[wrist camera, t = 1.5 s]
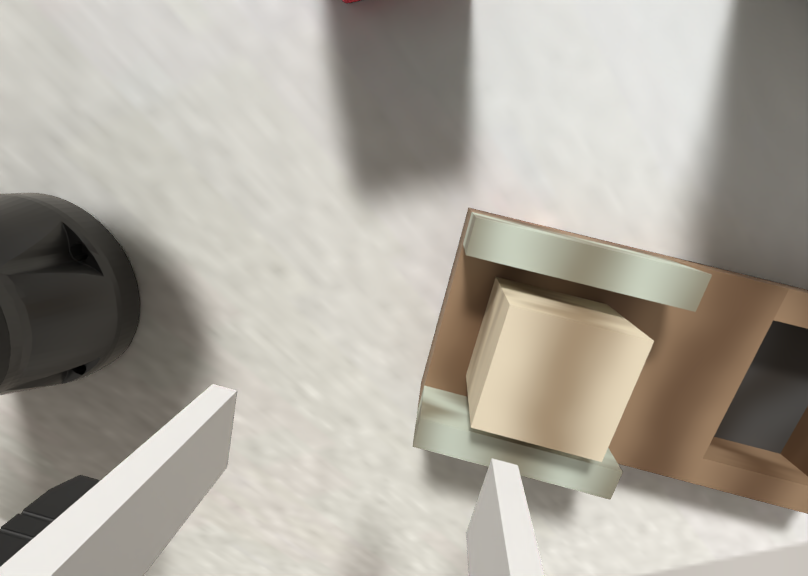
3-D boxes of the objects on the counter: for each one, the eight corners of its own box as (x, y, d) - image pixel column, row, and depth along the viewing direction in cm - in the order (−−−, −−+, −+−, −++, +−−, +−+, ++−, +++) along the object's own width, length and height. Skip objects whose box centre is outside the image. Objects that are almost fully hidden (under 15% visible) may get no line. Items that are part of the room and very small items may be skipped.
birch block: (465, 375, 27) (470, 427, 21) (495, 276, 25) (509, 304, 20) (568, 402, 27) (601, 462, 21) (606, 304, 25) (654, 341, 19)
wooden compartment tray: (421, 383, 32) (412, 446, 24) (468, 207, 28) (476, 217, 21) (791, 479, 31) (904, 578, 23) (891, 310, 27) (1066, 361, 20)
